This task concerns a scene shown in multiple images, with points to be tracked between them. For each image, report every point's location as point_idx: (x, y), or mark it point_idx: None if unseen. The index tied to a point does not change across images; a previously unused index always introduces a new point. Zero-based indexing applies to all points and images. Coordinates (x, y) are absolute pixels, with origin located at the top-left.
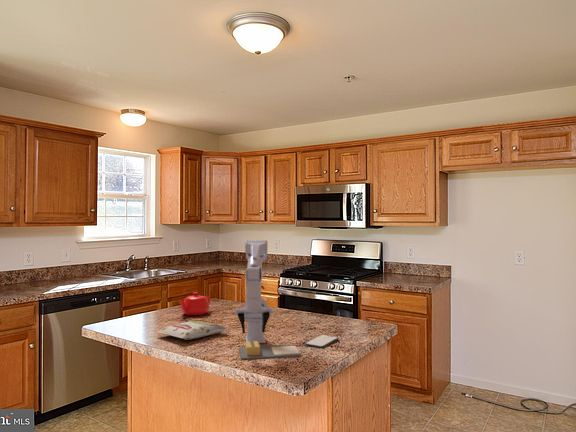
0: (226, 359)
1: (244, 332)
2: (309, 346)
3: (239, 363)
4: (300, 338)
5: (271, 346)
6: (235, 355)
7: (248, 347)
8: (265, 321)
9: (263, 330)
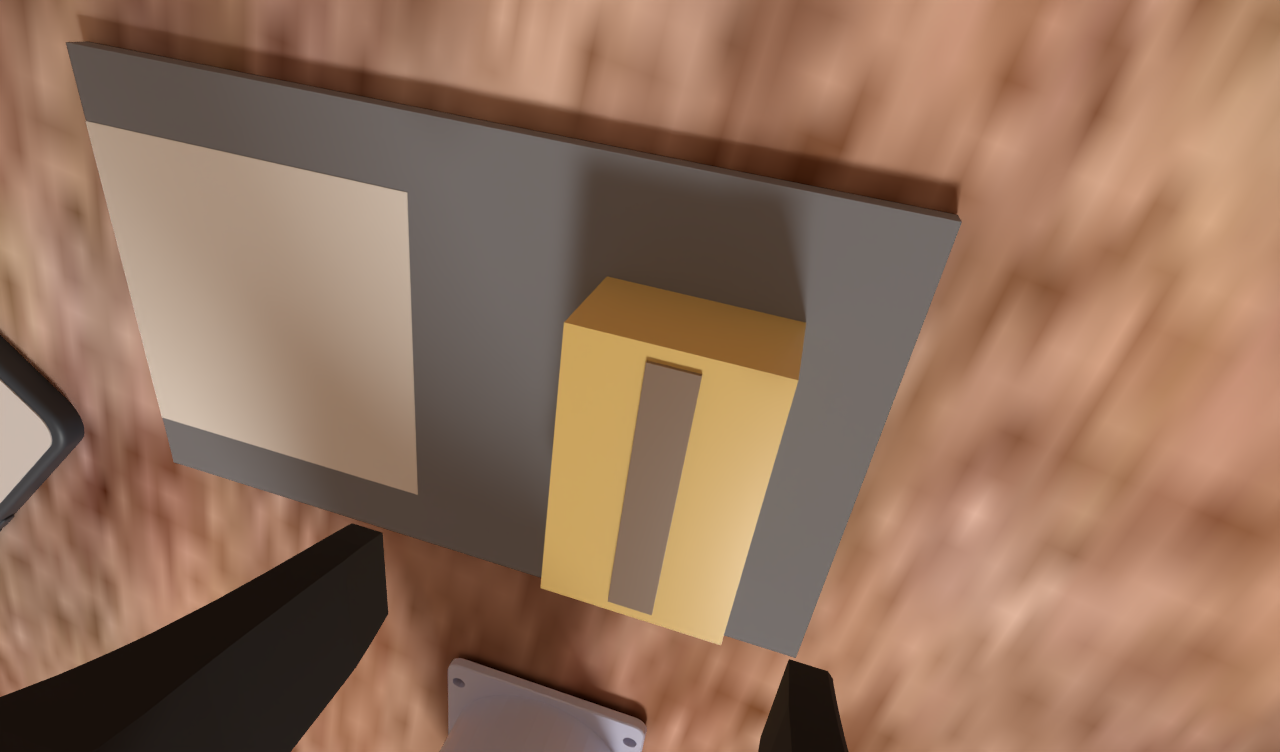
0: (1191, 323)
1: (796, 675)
2: (38, 373)
3: (1083, 9)
4: (140, 612)
5: (408, 511)
6: (946, 441)
7: (770, 373)
8: (64, 707)
9: (335, 551)
